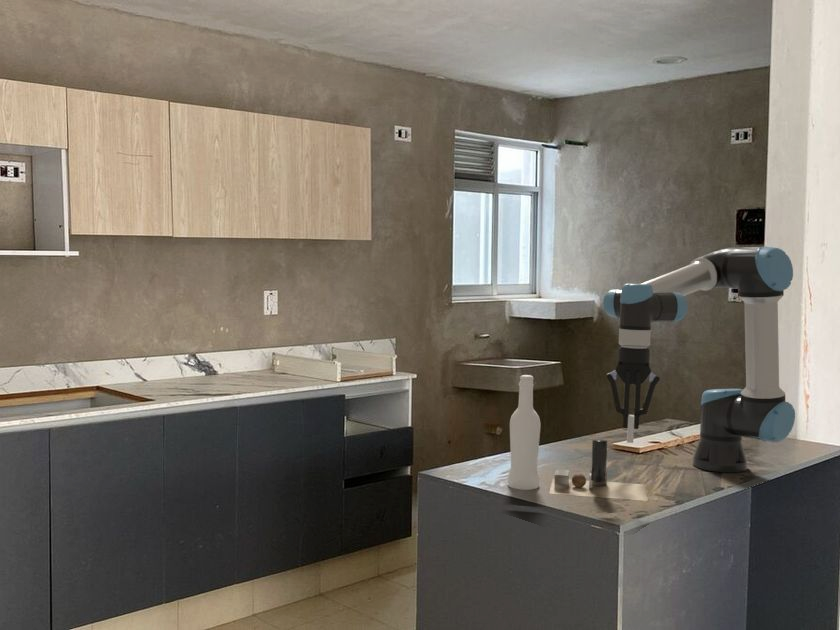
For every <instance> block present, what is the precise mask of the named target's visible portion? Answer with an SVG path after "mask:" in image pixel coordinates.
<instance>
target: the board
mask: <svg viewBox="0 0 840 630" xmlns="http://www.w3.org/2000/svg"><path fill="white" fill-rule="evenodd" d="M591 470H592V468H591V469H589V474H590V473H591ZM548 493H549V495H563V496H575V497H591V498H601V499H602V498H603V499H614V500H615V499H616V500H617V499H618V500H629V501H631V500H632V501H643V502H648V501H649V499H648V495H647V489H646V485H645V484H644V483H643V484H642V483H629V482H616V481H615V482H614V481H608V470H606V481H605V482H595V481H592V488H589V479H588V480H587V479H586V484H585V485H584V486H583V487H581V488H578V487H575V486H574V485H573V483H572V478H570V470H569V469H555V472H554V477H552V479H551V484H550V488H549V492H548Z"/></svg>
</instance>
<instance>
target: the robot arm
mask: <svg viewBox="0 0 840 630" xmlns="http://www.w3.org/2000/svg"><path fill="white" fill-rule="evenodd" d="M793 269H794V267H793V264H792V261H791V258H790V256H789V255H788V254H787V253H786V252H785V251H784V250H783V249H781V248H778V247H772V246H771V247H770V246H750V247H749V246H747V247H746V246H740V247H739V246H731V247H725V248H722V249H718V250H714V251H712V252H710V253H706V254H705V255H703V256H699V257H697V258H694V259H693V260H692V261H690V264H688V265H686V266H683V267H681V268H677V269H676V270H673V271H670V272H668V273H665V274H662V275H660V276H658V277H654V278H651V279H650V280H647V281H644V282H642V283H625V284H623V285H622V286H621V289H620V288H616V289H610V290H609V291H607V292H606V293H605V295H604V296H603V299H602V300H603V301H602V306H603V311H604V313H605V314H606V315H607V316H608V317H610V318H617V319H619V328H618V330H619V331H618V345H620V346H619V347H618V348H617V349H618V350H617V351H618V353H617V355H618V356H617V364H616V365H615V369H614V370H613V371H611V372H607V373H606V378H607V380H608V382H609V383H610V386H611V392H612V397H613V401H614V407H615V412H617V413H619V414H621V415H622V427H623V429H626V443H629V444H633V443H634V432H635V430H638V429H639V428H640V418H641V416H643V415H646V414H647V413H648V410H649V407H650V403H651V401H652V397H653V393H654V391H655V387H656V385H657V384H658V382H659V381H660V377H659V375H657V374H655V373H654V372H652V369H651V367H650V355H651V354H650V353H651V349H650V348H649V347H650V346H651V337H652V335H651V334H652V323H674V322H680V321H682V319H684V318H685V317H686V315H687V313H688V302H687V299H686V296H688V295H690V294H693V293H695V292H698V291H700V290H701V291H711V290H712V289H722V288H723V289H725V288H726V289H737V291H738V294H737V295H738V298H739V299H740V300H741V301H742V302H743V303H744V305H743V306H744V307H743V308H744V340H745V342H744V343H745V347H744V349H745V351H744V352H745V387H744V388H743V389H742V388H715V389H707V390H704V391H703V393H702V395H701V402H700V425H699V427H700V429H699V432H700V433H699V441H698V442H697V446H696V448H695V451H694V453H693V456H692V465H693V466H694V467H696V468H698V469H700V470H704V471H705V470H706V471H711V472H718V473H741V472H746V471H747V470H748V461H747V457H746V454H745V449H744V446H743V442H742V441H743V440H742V439H743V437H745V438H749V439H754V440H758V441H761V442H770V443H779V442H783V441H784V440H785V439H786V438H788V436H789V435H790V433H791V432H792V430H793V428H794V424H795V420H796V410H795V408H794V406H793V404H791V403H790V402H789V401H786V392H785V391H784V390H783V389H782V388H781V387H780V365H779V364H780V362H779V360H780V358H779V357H780V356H779V353H780V351H779V350H780V349H779V348H780V347H779V301H780V300H781V299H782V298H783V297H784V295H785V294H784V293H785V292H784V291H785V290H787V289H788V288H789V287H790V286H791V284H792V282H791V281H793V278H794V270H793ZM617 375H618V377H619V379H620V380H621V381H622V382H623V385H624V388H623V390H624V391H623V405H622V406H621V403H620V397H619V393H618V389H617V383H616V380H617ZM648 377H649V378H648ZM647 378H648V380H649V384H648V388H647V391H646V394H645V397H644V400H643V404H642V408H641V388H642V385H641V384H643V383H644V382H645V381H646V380H647ZM631 385H634V404H633V405H634V407H633V414H629V411H630V410H629V409H630V392H631V391H630V389H631Z"/></svg>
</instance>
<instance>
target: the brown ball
mask: <svg viewBox="0 0 840 630" xmlns="http://www.w3.org/2000/svg"><path fill="white" fill-rule="evenodd" d="M571 479H572V483H573V485H574V486H575V487H578V488H581V487H583V486H584V485H585V484H586V480H587V478H586V477H585V475H584V474H582V473H575V474H574V475H573V476H572V478H571Z"/></svg>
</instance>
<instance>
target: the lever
mask: <svg viewBox="0 0 840 630" xmlns="http://www.w3.org/2000/svg"><path fill="white" fill-rule="evenodd" d="M607 457H608V440H607V439H601V438H595V439H592V445H591V469H592V470H591V469H590V470H591V473H590V472H589V474H588V475H589V477H588V478H589V479H588V480H589V488H592V481H595V482H605V481H606V471H607V460H608V459H607Z"/></svg>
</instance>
